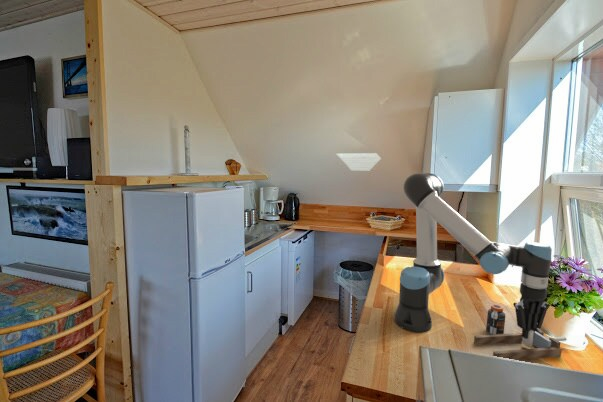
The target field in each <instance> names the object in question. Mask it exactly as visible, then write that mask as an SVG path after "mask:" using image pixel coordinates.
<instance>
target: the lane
mask: <svg viewBox="0 0 603 402" xmlns="http://www.w3.org/2000/svg"><path fill="white" fill-rule="evenodd" d="M537 330H538V333H539V334H541V335H543V336H544V335H545V334H544V333H545V332H543V331H542V330H540V329H539V328H537ZM548 338H549V340H551V347H547V348H537V347H536V348H523V349H521V348H520V349H511V350H496V351H494V350H493V352H492V357H493V356H497V357H503V358H509V359H515V360H514V361H519V360H521V361H522V360H524V361H525V360H535V359H548V358H549V357H550V358H560V356H562V350H563V349H562V348H561V341H557V340H555V339H554V338H555V337H548ZM510 343H511V344H513V343H522V332H516V333H515V332H512V333H504V334H496V335H492V334H483V335H474V339H473V344H474V345H475V346H482V345H498V344H510Z"/></svg>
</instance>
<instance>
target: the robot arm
mask: <svg viewBox="0 0 603 402" xmlns="http://www.w3.org/2000/svg"><path fill="white" fill-rule="evenodd" d="M444 189H445V188H444V182H443V180H442V179H441V177H440V176H439V175H437V174H434V173H430V172H425V173H413V174H411V175H410V176H408V177H407V178H406V179H405V181H404V183H403V192H404V194H405V196H406V198H408V200H409V201H410V202H411V203H412V205H414V206H415V213H416V215H415V220H416V221H415V225H416V227H415V228H416V231H415V232H416V258H414V259H413V261H412V262H413V264H412V265H413V266H407V267H405V268H403V269H402V270H401V272H400V275H399V300H398V305H397V307H396V310H395V312H394V315H393V316H394V318H393V320H395V321H394V322H395V324H396V323H397V324H398V325H397V324H396V325H397V326H399V327H400V326H401V327H400V328H402V327H403V328H402V329H404V328H405V329H404V330H406V329H407V330H406V331H409V330H410V332H413V331H414V333H425V332H428V331H430V330H431V329H432V324H433V323H432V321H433V320H432V317H431V313H430V311H429V298H430V296H429V295H431V293H433V292H435V291H436V290H438V289H439V287H441V286H442V284H443V282H444V281H445V272H444V269H443V268H442V264H441V261H440V260H439V259H438V235H437V234H438V233H437V231H438V230H437V229H438V224H439V225H440V226H441V227H442V228H444V230H446V231H447V233H449V234H450V235H451V236H452V237H453V238H454V239H455V240H456V241H457V242H458V243H460V244H461V245H462V246H463V247H464V248H465V249H466V250H467V251H468V252H469V253H470V254H471V255H473V257H475V258H476V259H477V260H478V261H479V264H480V267H481V269H482V270H483V271H484V272H486V273H487V274H491V275H499V274H501V273H503V272H505V271H507V269H508V268H509V266H515V267H520V268H521V269H522V270H521V276H520V282H521V283H520V286H519V293H520V294H521V296H520V299H519V302H514V303H513V307H514V310H515V316H516V317H515V318H516V325H517V326H518V327H519V328H520V329H521V333H522V342H521V344H522V345H524V346H525V347H526V348H527V349H533V344H532V343H533V338H534V334H535V331H536V332H538V330H537V329H539V330H540V329H542V325H543V323H544V319H545V317H546V314H547V311H548V309H549V308H550V307H551V304H550V303H547V302H546V301H545V300H546V299H547V296H548V284H549V277H550V271H551V264H552V250H553V249H552V247H551V246H550V245H548V244H545V243H542V242H536V241H535V242H534V241H528V242H525V243H524V246H520V245H514V244H508V243H503V242H499V241H490V240H489V239H488V238H487V237H486V236H485V235H484V234H483V233H481V232H480V230H478V229H476V228H475V227H474V226H473V225H472V224H471V223H470V222H469V221H468V220H466V219H465V218H464V217H463V216H461V215H460V213H458V212H457V210H455V209H453V208H452V207H451V206H450V205H449V204H448V203H446V201H444V200H443V199H442V198H441V195H442V193H443V192H444Z"/></svg>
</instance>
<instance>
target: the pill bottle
mask: <svg viewBox="0 0 603 402" xmlns="http://www.w3.org/2000/svg"><path fill="white" fill-rule="evenodd" d="M505 323H506V314H505V312H504V307H503V306H501V305H499V304H496V303H495V304H494V303H493V304H491V306H490V308H489V309H488V310H487V317H486V329H485V330H486V331H487V333H489V335H496V334H505V326H506V325H505Z"/></svg>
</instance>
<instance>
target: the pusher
mask: <svg viewBox="0 0 603 402" xmlns="http://www.w3.org/2000/svg"><path fill="white" fill-rule="evenodd" d="M549 338H550V337H546V336H544V335H541V334H539V333H538V332H536V331H535V334H534V338H533V343H532V346H534V347H536V348H547V347H551V340H549ZM553 338H554V339H555V340H557V341H559V342H564V341H565V342H566V341H567V340H568V339H567V337H565V336H560V337H559V336H558V337H553Z"/></svg>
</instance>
